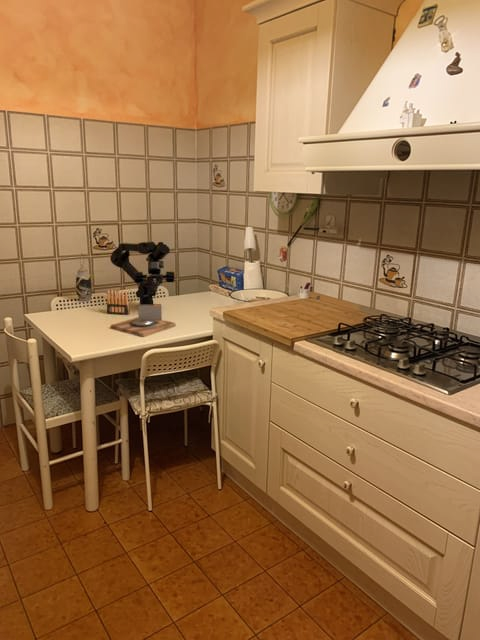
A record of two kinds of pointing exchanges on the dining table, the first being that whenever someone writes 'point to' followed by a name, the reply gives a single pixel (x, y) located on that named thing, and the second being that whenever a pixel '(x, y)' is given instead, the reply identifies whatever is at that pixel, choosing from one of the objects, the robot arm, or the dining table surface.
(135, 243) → the robot arm
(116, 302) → the ammunition clip
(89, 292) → the clear tall bottle
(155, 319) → the dial knob
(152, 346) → the dining table surface
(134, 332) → the dial plate
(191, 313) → the dining table surface
